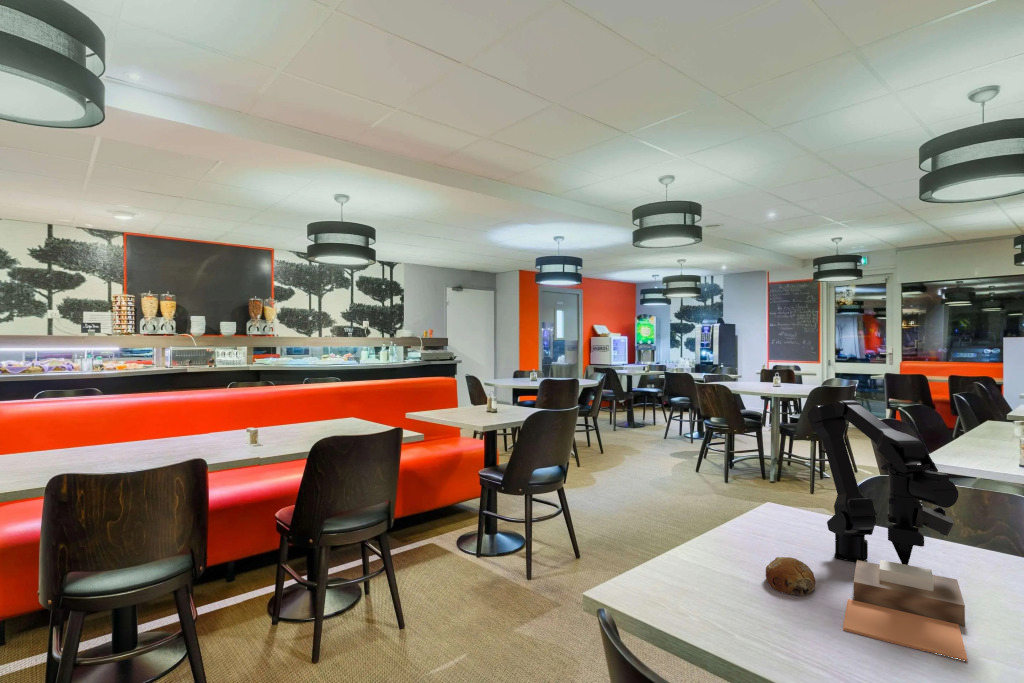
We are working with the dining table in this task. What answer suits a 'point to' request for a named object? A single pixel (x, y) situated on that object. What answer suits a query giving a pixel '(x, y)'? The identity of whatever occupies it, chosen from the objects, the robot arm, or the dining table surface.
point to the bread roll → (790, 576)
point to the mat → (904, 629)
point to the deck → (910, 595)
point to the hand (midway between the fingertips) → (904, 564)
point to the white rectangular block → (906, 575)
